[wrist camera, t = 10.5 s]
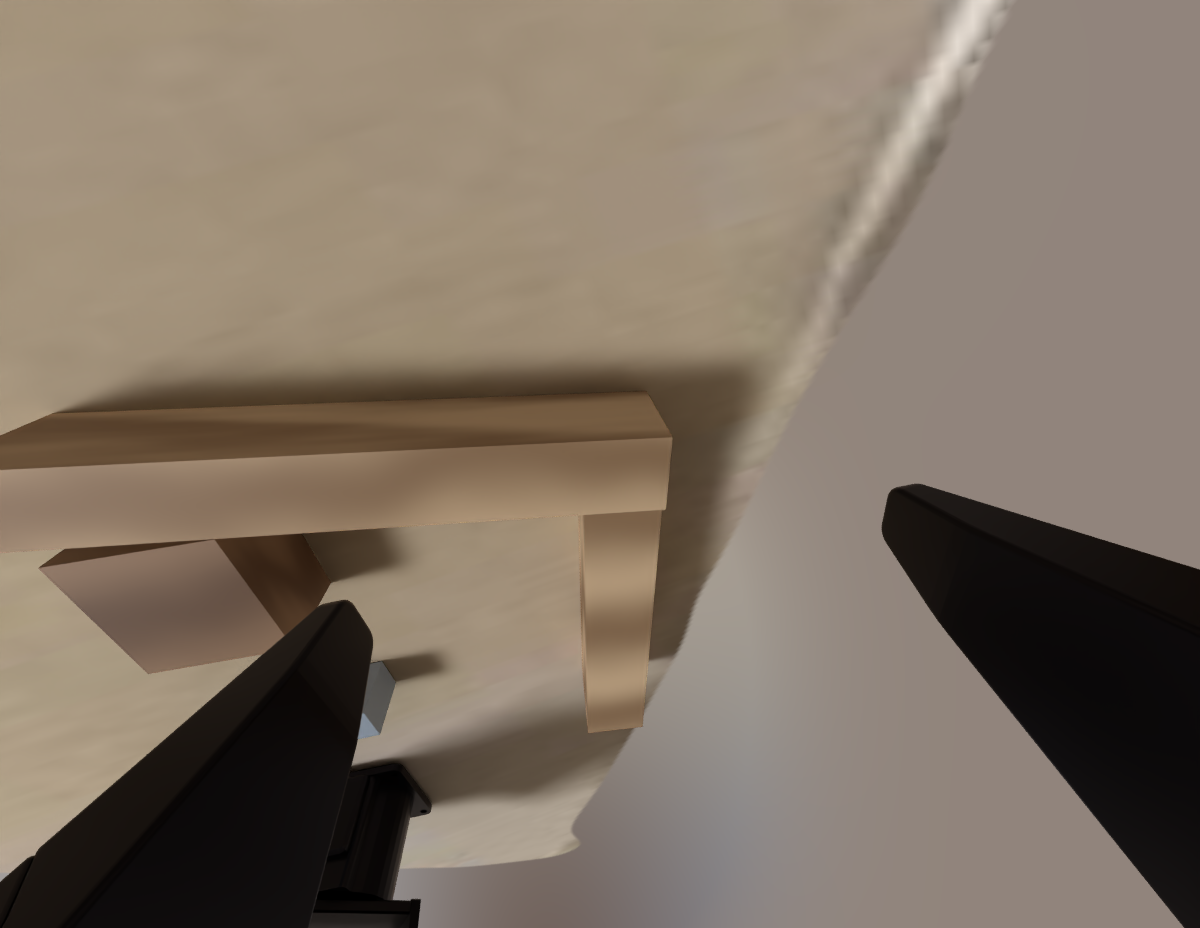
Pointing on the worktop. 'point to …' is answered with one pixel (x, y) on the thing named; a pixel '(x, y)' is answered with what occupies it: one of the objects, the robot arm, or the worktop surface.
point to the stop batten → (376, 700)
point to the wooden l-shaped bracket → (370, 490)
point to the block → (193, 595)
